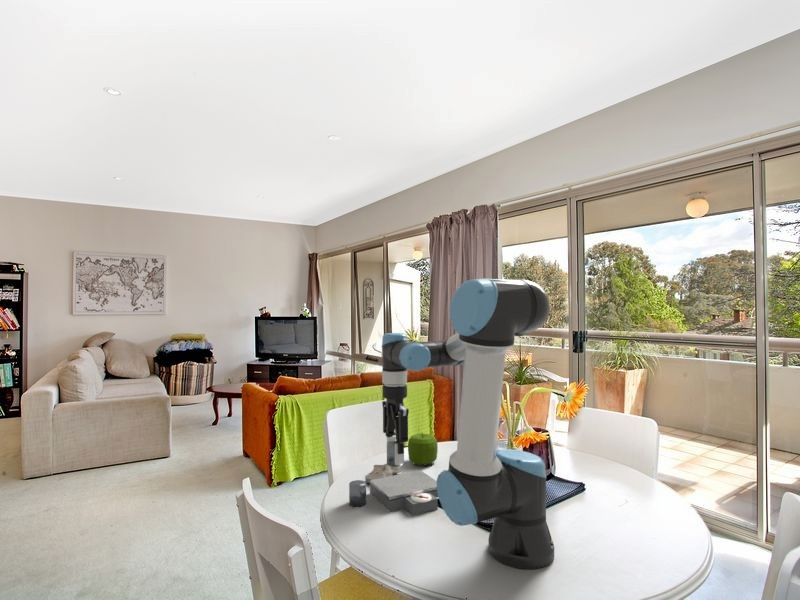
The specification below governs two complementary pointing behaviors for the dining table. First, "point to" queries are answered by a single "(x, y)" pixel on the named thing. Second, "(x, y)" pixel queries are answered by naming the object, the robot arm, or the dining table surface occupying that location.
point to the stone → (381, 472)
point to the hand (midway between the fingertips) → (395, 460)
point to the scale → (408, 501)
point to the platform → (404, 484)
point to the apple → (422, 449)
